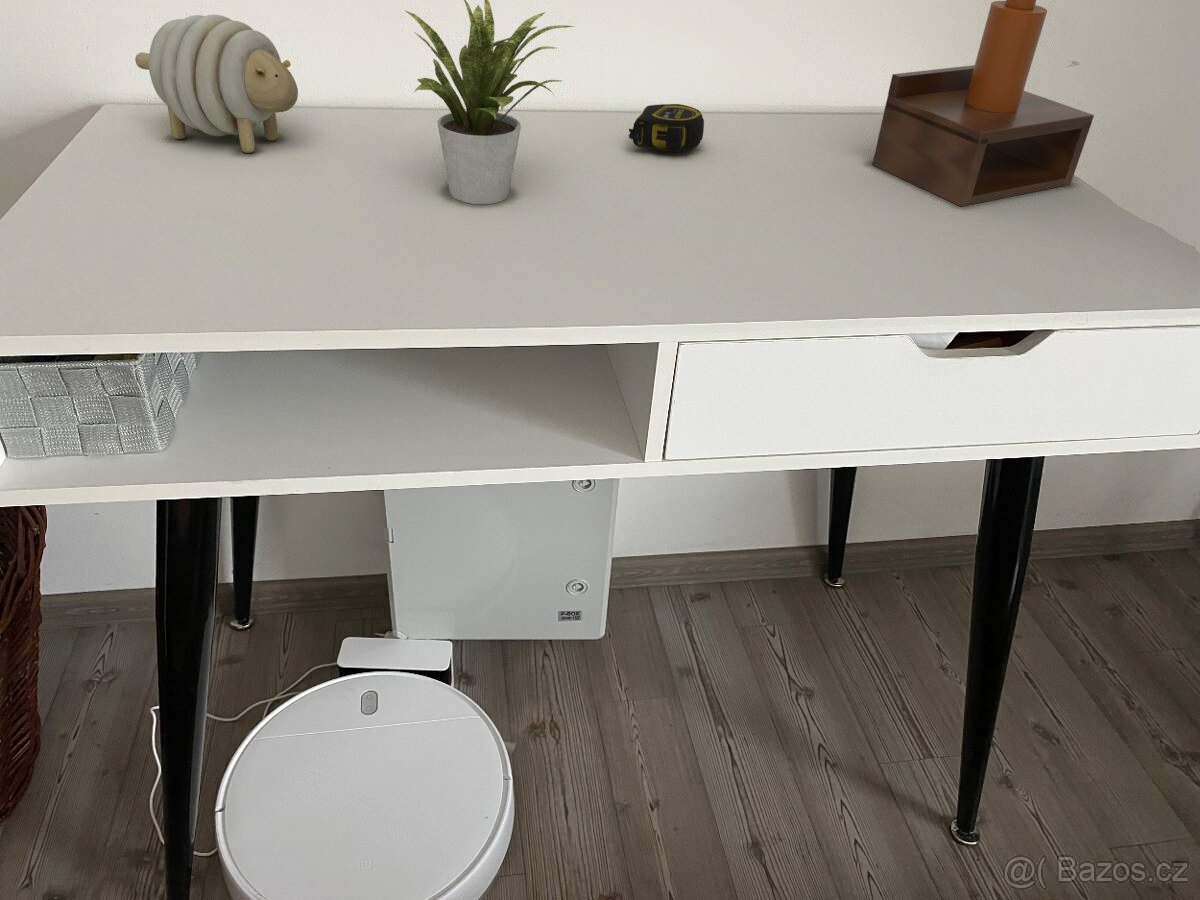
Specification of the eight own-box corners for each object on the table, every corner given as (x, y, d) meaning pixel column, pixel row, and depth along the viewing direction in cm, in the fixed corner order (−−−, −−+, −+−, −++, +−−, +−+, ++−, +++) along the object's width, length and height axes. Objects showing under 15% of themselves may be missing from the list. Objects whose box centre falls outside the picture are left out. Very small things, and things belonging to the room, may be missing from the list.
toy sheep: (274, 169, 91) (258, 39, 85) (109, 141, 94) (82, 14, 88) (329, 134, 100) (319, 15, 93) (176, 110, 103) (156, -8, 96)
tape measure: (643, 133, 107) (646, 97, 105) (707, 143, 105) (711, 106, 103) (626, 152, 101) (630, 115, 99) (693, 163, 100) (698, 125, 98)
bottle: (1028, 110, 98) (1068, -19, 92) (993, 115, 96) (1031, -16, 89) (988, 95, 102) (1024, -30, 95) (954, 100, 99) (987, -28, 93)
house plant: (600, 215, 87) (614, 14, 78) (452, 240, 81) (448, 24, 72) (523, 161, 97) (528, -23, 88) (386, 179, 91) (376, -17, 82)
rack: (1070, 184, 102) (1101, 94, 97) (960, 206, 95) (988, 110, 90) (979, 147, 111) (1003, 61, 105) (871, 164, 103) (892, 74, 98)
